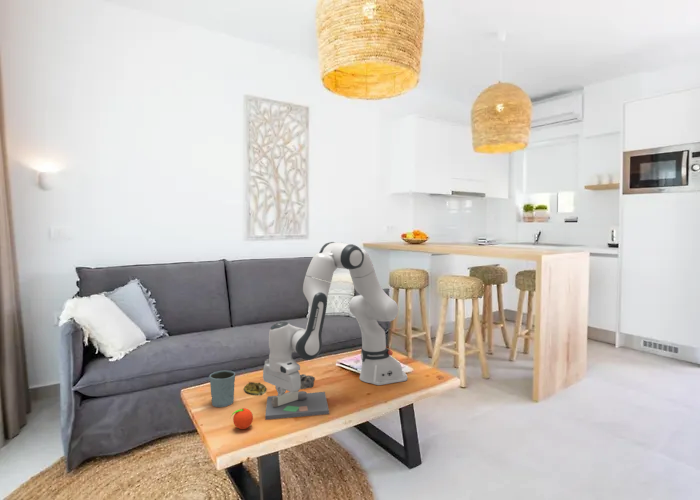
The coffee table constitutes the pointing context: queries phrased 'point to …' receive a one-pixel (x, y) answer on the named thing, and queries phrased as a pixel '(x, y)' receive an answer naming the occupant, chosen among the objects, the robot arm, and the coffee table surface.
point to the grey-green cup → (222, 388)
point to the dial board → (298, 407)
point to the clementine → (242, 418)
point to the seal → (255, 388)
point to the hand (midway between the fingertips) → (281, 397)
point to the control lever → (288, 398)
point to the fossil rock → (306, 381)
